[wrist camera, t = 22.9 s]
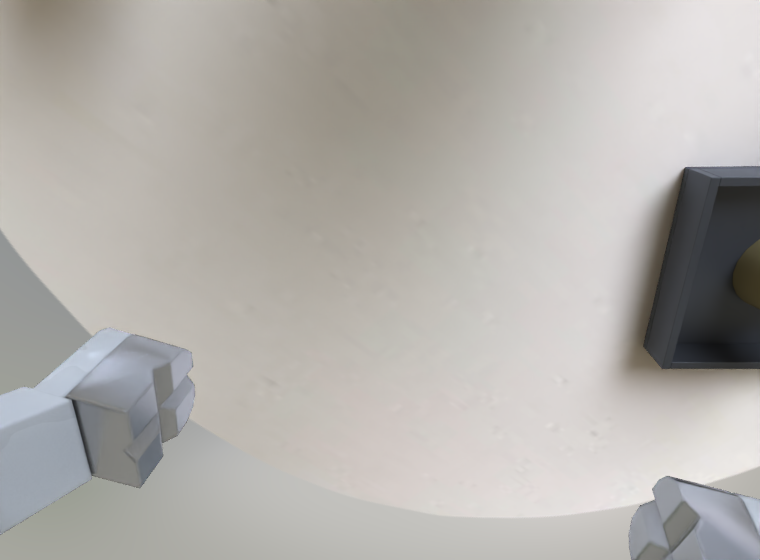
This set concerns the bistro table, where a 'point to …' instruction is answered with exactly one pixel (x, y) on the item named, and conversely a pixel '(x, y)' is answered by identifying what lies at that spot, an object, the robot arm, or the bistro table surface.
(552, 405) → the bistro table surface
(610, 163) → the bistro table surface
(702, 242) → the bin
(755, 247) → the olive pawn
